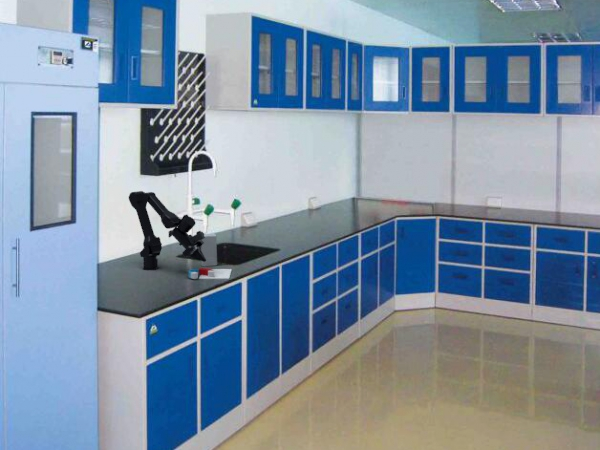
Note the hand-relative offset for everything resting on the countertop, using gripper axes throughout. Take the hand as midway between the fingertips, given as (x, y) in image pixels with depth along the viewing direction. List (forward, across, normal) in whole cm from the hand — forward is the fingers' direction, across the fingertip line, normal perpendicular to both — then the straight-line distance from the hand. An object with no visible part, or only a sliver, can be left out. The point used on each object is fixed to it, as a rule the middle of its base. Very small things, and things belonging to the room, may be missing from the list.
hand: (205, 261), depth 368 cm
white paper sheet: (+8, +2, +1) cm, 8 cm away
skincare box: (+2, +22, +8) cm, 24 cm away
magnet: (0, -1, +6) cm, 6 cm away
